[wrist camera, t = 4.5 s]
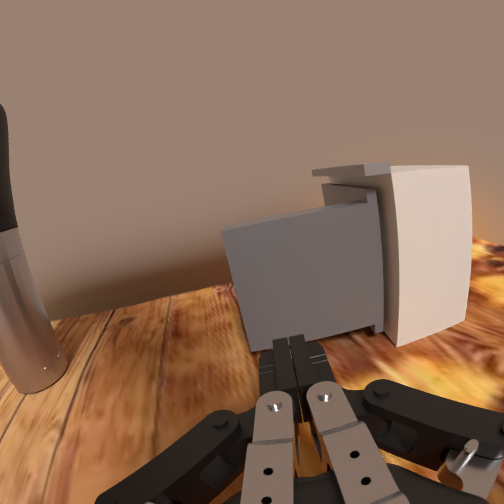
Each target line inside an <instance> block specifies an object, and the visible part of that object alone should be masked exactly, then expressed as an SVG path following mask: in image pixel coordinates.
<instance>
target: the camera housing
mask: <svg viewBox="0 0 504 504" xmlns="http://www.w3.org/2000/svg"><path fill="white" fill-rule="evenodd" d="M312 174H313V176H329V180H330V183H332V184H344V185H354V186H364V187H373V188H376V196H377V203H378V212H379V221H380V232H381V244H382V260H383V287H384V319H383V331H384V332H385V333H386V334H387V336H388V337H389V338H390V340H391V341H392V342H393V343H394V345H395V346H396V347H399V346H402V345H405V344H408V343H411V342H413V341H416V340H419V339H421V338H424V337H427V336H429V335H432V334H434V333H437V332H439V331H441V330H444V329H446V328H448V327H451V326H453V325H455V324H457V323H460V322H462V321H464V319H465V313H466V307H467V300H468V292H469V283H470V272H471V257H472V204H471V189H470V179H469V178H470V177H469V169H468V166H456V165H414V166H390V163H389V161H388V162H375V163H364V164H354V165H345V166H336V167H328V168H321V169H315V170H312Z"/></svg>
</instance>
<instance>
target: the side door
mask: <svg viewBox="0 0 504 504" xmlns="http://www.w3.org/2000/svg"><path fill="white" fill-rule="evenodd" d="M322 191H323V196H324V202H325V206H324V207H318V208H313V209H308V210H303V211H297V212H292V213H287V214H281V215H276V216H271V217H266V218H261V219H256V220H251V221H246V222H241V223H236V224H232V225H227V226H224V227H223V229H222V231H221V232H222V237H223V241H224V245H225V249H226V253H227V258H228V262H229V266H230V270H231V275H232V279H233V283H234V287H235V291H236V295H237V299H238V303H239V307H240V311H241V315H242V319H243V323H244V327H245V330H246V334H247V338H248V342H249V346H250V350H251V352H254V351H260V350H266V349H272V348H273V343H272V340H274V339H279V338H285V337H287V339H288V344H289V338H288V337H290V336H295V335H300V334H304V338H305V341H306V342H307V341H311V340H316V339H320V338H324V337H329V336H333V335H337V334H341V333H345V332H349V331H352V330H356V329H360V328H364V327H367V326H370V328H371V329H372V330H373V332H374V333H375V334H376V333H380V332H383V319H384V287H383V260H382V244H381V232H380V221H379V212H378V203H377V196H376V188H373V187H364V186H354V185H344V184H332V183H326V184H322ZM289 345H290V344H289Z"/></svg>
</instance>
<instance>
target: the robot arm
mask: <svg viewBox="0 0 504 504" xmlns="http://www.w3.org/2000/svg"><path fill="white" fill-rule="evenodd" d="M9 173H10V172H9V143H8V125H7V117H6V113H5V111H4V108H3V106H2V105H1V104H0V364H1V366H2V367H3V369H4V371H5V372H6V374H7V376H8V377H9V379H10V381H11V382H12V383H13V385H14V386H15V388H16V389H17V391H19V392H20V393H24V394H30V393H35V392H38V391H41V390H43V389H45V388H47V387H48V386H50V385H51V384H53V383H54V382H55V381H57V380H58V379H59V378H60V377H61V376H62V375H63V373H64V372H65V370H66V369H67V366H68V362H69V361H68V358H67V356H66V354H65V352H64V350H63V348H62V346H61V344H60V342H59V340H58V338H57V336H56V334H55V332H54V330H53V327H52V325H51V323H50V321H49V319H48V316H47V314H46V312H45V309H44V307H43V304H42V302H41V300H40V297H39V294H38V292H37V289H36V286H35V283H34V281H33V278H32V275H31V272H30V269H29V266H28V262H27V259H26V256H25V253H24V249H23V245H22V242H21V238H20V234H19V230H18V228H17V227H18V225H17V221H16V216H15V211H14V204H13V197H12V191H11V184H10V174H9ZM288 338H289V344H290V349H289V344H288V339H287V337H285V338H279V339H274V340H272V343H273V350H271V351H265V352H263V353H262V354H261V356H260V358H259V381H260V398H259V399H258V400H257V403H256V405H255V406H254V407H253V408H252V409H250V410H248V411H246V412H243V413H241V414H238V415H236V414H235V413H234V412H232V411H229V410H218V411H215V412H212V413H211V414H209V415H208V416H206V417H205V418H204V419H203V420H202V421H201V422H199V423H198V424H197V425H196V426H195V427H193V428H192V429H191V430H190V431H189V432H187V433H186V434H185V435H184V436H182V437H181V438H180V439H179V440H177V441H176V442H175V443H173V444H172V445H171V446H170V447H168V448H167V449H166V450H164V451H163V452H162V453H160V454H159V455H158V456H156V457H155V458H154V459H152V460H151V461H150V462H148V463H147V464H145V465H144V466H143V467H141V468H140V469H138V470H137V471H136V472H134V473H133V474H131V475H130V476H128V477H127V478H125V479H124V480H122V481H121V482H119V483H118V484H116V485H115V486H113V487H111V488H110V489H108V490H107V491H105V492H103V493H102V494H100V495H99V496H98V497H97V499H96V501H95V504H209V503H210V502H211V501H212V500H213V499H214V498H215V497H217V496H218V495H219V494H220V493H221V492H222V491H223V490H224V489H225V488H226V487H227V486H228V485H229V484H231V483H232V482H233V481H234V480H235V479H236V478H237V477H238V476H239V475H240V474H241V473H242V472H243V471H244V478H243V486H242V491H240V492H238V493H236V494H235V495H233V496H232V497H230V498H229V499H228V500H227V501H225V502H224V503H223V504H489V502H488V501H487V500H486V499H487V496H488V494H489V492H490V490H491V488H492V486H493V483H494V481H495V479H496V476H497V474H498V472H499V469H500V466H501V464H502V461H503V458H504V413H500V412H495V411H491V410H487V409H483V408H479V407H475V406H471V405H468V404H464V403H460V402H457V401H453V400H450V399H446V398H443V397H439V396H436V395H433V394H430V393H426V392H423V391H420V390H417V389H414V388H411V387H408V386H405V385H402V384H399V383H396V382H393V381H391V380H386V379H380V380H375V381H373V382H371V383H369V384H368V385H367V386H366V387H365V389H364V390H347V389H344V388H342V387H340V385H338V384H337V383H336V381H335V378H334V375H333V373H332V370H331V367H330V365H329V362H328V360H327V357H326V355H325V351H324V349H323V346H321V345H320V344H319V343H317V342H311V343H306V341H305V338H304V334H300V335H295V336H290V337H288ZM290 350H291V354H290ZM291 356H292V359H291ZM292 362H293V364H292ZM293 367H294V369H293ZM294 373H295V374H294ZM295 378H296V379H295ZM296 383H297V384H296ZM297 388H298V390H297ZM298 393H299V396H298ZM299 398H300V403H299ZM300 404H301V409H302V414H303V419H304V422H308V421H309V424H310V429H311V436H312V440H313V443H314V446H315V449H316V453H317V456H318V459H319V462H320V466H321V469H322V474H320V475H318V476H315V477H301V473H300V451H299V426H298V423H302V416H301V409H300ZM378 448H380V449H382V450H384V451H386V452H389V453H391V454H393V455H396V456H398V457H400V458H403V459H405V460H408V461H410V462H413V463H415V464H418V465H421V466H423V467H426V468H429V469H432V470H434V471H437V472H438V473H437V476H438V479H439V481H440V482H441V483H442V484H441V483H439V482H436V481H434V480H431V479H429V478H426V477H424V476H421V475H419V474H417V473H414V472H412V471H410V470H408V469H405V468H403V467H401V466H398V465H395V464H390V463H385V461H384V459H383V457H382V455H381V453H380V451H379V449H378Z"/></svg>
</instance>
